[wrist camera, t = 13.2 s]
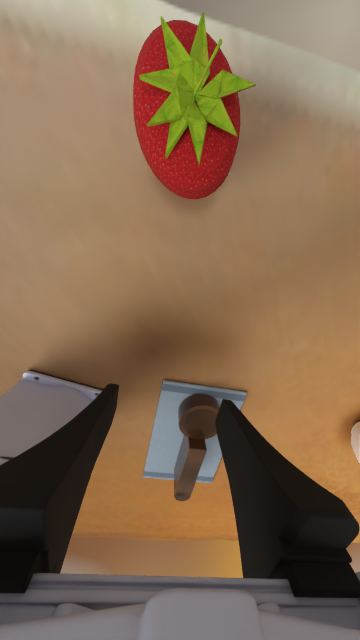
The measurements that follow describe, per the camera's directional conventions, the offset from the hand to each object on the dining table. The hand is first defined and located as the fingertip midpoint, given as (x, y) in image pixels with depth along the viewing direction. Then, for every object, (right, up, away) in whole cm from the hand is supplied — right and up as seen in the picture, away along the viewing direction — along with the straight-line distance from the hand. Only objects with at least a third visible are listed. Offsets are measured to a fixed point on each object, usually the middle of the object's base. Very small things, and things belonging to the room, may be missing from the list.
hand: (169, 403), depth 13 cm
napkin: (+2, -11, +14) cm, 18 cm away
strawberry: (+1, +19, +4) cm, 19 cm away
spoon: (+2, -11, +14) cm, 18 cm away
